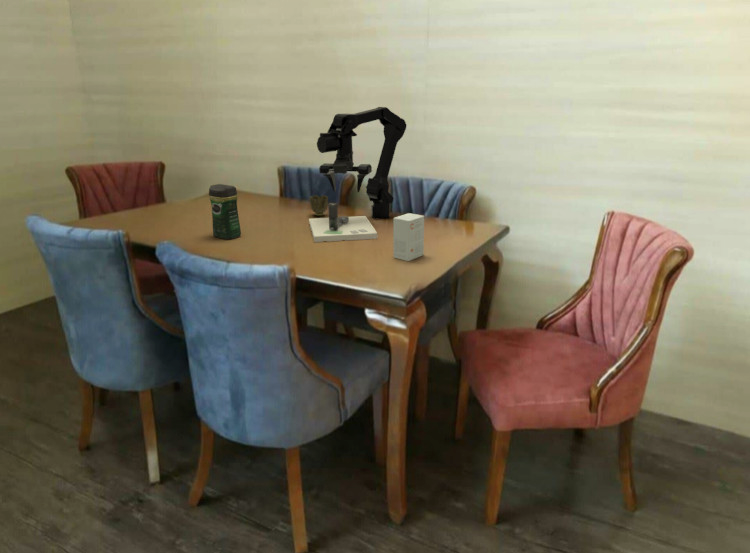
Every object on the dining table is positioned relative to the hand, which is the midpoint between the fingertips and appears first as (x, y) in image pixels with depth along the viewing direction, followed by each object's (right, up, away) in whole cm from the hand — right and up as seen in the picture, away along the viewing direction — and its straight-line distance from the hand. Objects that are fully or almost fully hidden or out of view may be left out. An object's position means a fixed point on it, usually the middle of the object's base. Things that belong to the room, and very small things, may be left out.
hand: (346, 191), depth 214 cm
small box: (+21, -26, -33) cm, 47 cm away
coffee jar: (-42, -18, -10) cm, 47 cm away
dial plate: (-2, -15, -4) cm, 16 cm away
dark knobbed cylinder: (-3, -13, -7) cm, 15 cm away
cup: (-12, -7, +17) cm, 22 cm away
